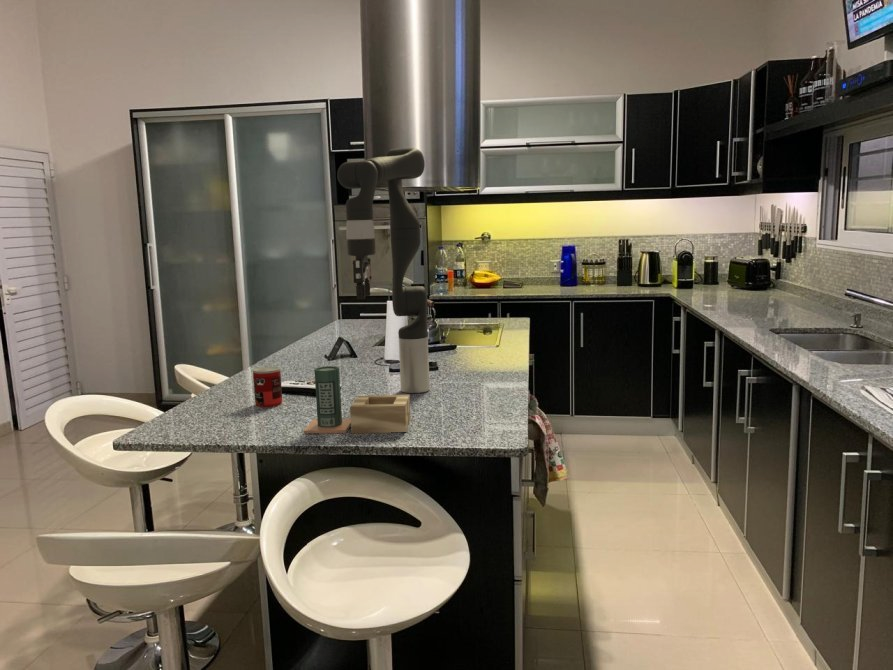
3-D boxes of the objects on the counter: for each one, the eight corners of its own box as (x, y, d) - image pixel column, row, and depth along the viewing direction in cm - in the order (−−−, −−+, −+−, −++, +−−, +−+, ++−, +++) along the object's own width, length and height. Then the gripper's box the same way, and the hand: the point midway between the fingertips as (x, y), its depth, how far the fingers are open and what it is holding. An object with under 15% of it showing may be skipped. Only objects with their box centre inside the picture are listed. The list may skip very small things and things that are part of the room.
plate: (313, 422, 192) (313, 419, 192) (353, 421, 192) (353, 418, 192) (303, 433, 182) (303, 430, 181) (345, 433, 181) (345, 430, 181)
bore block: (359, 420, 192) (358, 395, 191) (410, 419, 192) (409, 394, 190) (351, 433, 180) (349, 406, 179) (406, 432, 180) (404, 405, 179)
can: (343, 420, 190) (340, 366, 187) (339, 427, 184) (336, 370, 181) (321, 421, 190) (317, 366, 188) (316, 427, 184) (312, 371, 182)
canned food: (254, 403, 216) (251, 368, 214) (280, 400, 219) (278, 365, 217) (256, 409, 209) (254, 372, 207) (284, 405, 212) (281, 369, 210)
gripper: (370, 237, 182) (373, 300, 185) (378, 236, 196) (381, 294, 199) (341, 238, 183) (345, 300, 185) (351, 237, 197) (354, 295, 199)
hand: (363, 297), depth 192 cm, fingers open, 8 cm apart
